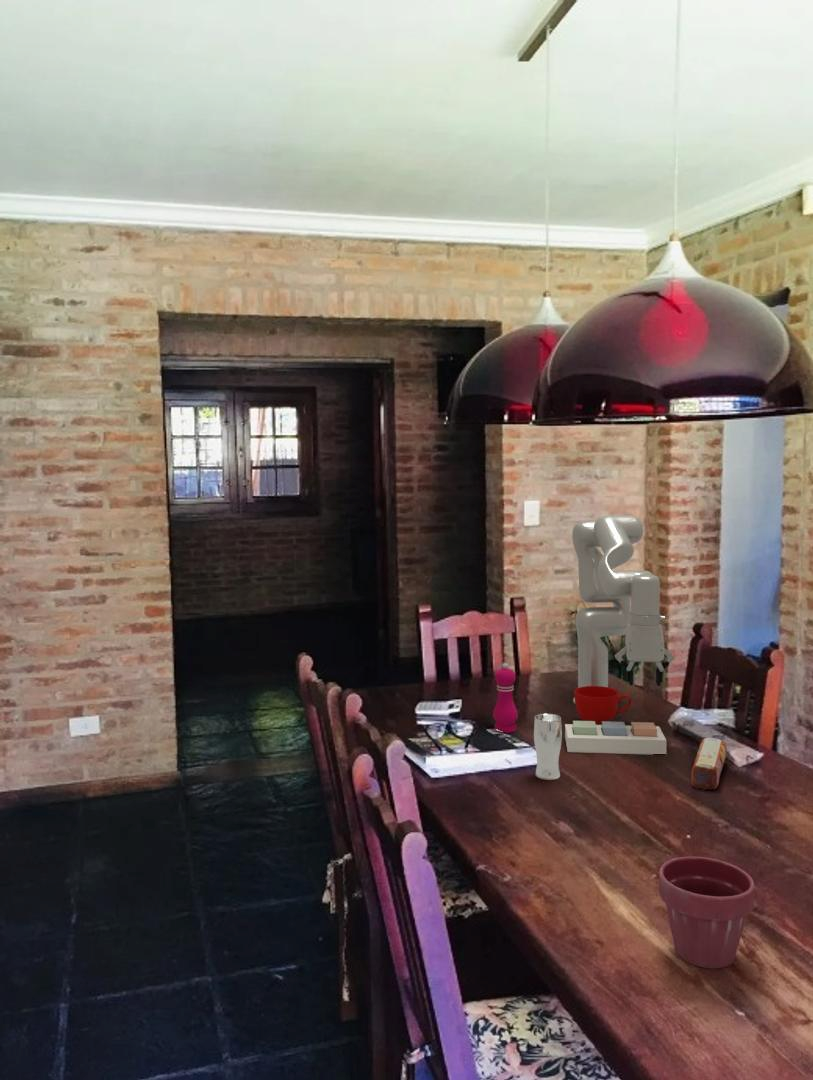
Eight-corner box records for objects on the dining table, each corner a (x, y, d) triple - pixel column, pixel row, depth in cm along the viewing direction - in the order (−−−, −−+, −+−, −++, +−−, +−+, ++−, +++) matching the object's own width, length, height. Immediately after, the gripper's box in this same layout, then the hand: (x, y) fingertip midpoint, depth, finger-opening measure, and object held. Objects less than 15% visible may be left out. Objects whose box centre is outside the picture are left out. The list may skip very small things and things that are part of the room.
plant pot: (723, 924, 142) (724, 851, 141) (771, 973, 128) (773, 893, 127) (643, 932, 140) (644, 858, 139) (683, 983, 126) (685, 902, 125)
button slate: (601, 730, 235) (602, 721, 235) (623, 730, 235) (623, 721, 234) (604, 736, 229) (604, 728, 229) (626, 737, 229) (626, 728, 228)
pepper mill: (509, 735, 243) (509, 667, 241) (488, 730, 247) (488, 664, 246) (522, 728, 249) (522, 662, 247) (501, 724, 253) (500, 659, 251)
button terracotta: (631, 730, 234) (631, 722, 234) (653, 731, 234) (653, 722, 233) (634, 737, 228) (634, 728, 228) (656, 738, 228) (657, 729, 227)
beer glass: (529, 778, 210) (529, 719, 208) (539, 769, 216) (538, 712, 214) (556, 782, 206) (556, 723, 205) (565, 773, 213) (565, 715, 211)
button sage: (572, 729, 236) (572, 720, 236) (594, 729, 236) (594, 721, 235) (574, 736, 230) (574, 727, 230) (596, 736, 230) (596, 727, 229)
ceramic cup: (636, 730, 246) (637, 697, 245) (578, 731, 246) (578, 697, 245) (626, 717, 258) (626, 685, 258) (570, 717, 259) (571, 686, 258)
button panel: (565, 737, 240) (565, 724, 240) (658, 740, 237) (658, 726, 236) (567, 752, 228) (567, 737, 228) (666, 754, 225) (666, 740, 224)
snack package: (718, 793, 199) (719, 765, 198) (689, 788, 202) (689, 761, 201) (726, 763, 218) (727, 738, 217) (700, 760, 221) (700, 735, 220)
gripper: (675, 617, 231) (674, 681, 232) (610, 617, 233) (610, 680, 235) (680, 622, 223) (679, 688, 225) (613, 622, 226) (613, 687, 227)
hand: (644, 683), depth 230 cm, fingers open, 6 cm apart
